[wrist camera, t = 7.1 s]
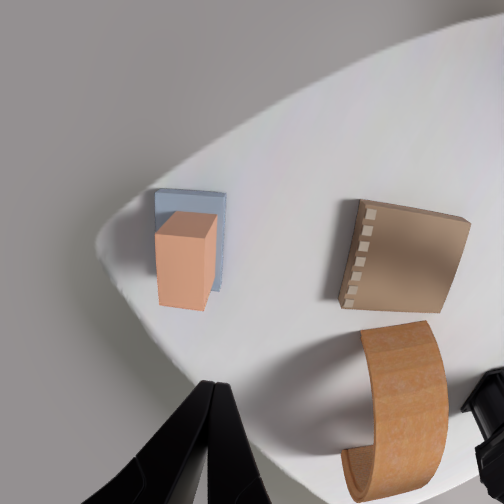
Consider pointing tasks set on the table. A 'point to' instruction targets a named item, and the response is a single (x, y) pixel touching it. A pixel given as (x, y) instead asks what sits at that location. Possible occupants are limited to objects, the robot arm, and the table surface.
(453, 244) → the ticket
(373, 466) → the arch
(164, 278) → the stub
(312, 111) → the table surface
